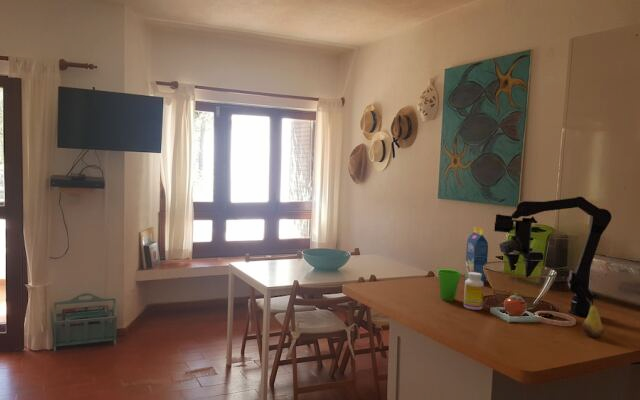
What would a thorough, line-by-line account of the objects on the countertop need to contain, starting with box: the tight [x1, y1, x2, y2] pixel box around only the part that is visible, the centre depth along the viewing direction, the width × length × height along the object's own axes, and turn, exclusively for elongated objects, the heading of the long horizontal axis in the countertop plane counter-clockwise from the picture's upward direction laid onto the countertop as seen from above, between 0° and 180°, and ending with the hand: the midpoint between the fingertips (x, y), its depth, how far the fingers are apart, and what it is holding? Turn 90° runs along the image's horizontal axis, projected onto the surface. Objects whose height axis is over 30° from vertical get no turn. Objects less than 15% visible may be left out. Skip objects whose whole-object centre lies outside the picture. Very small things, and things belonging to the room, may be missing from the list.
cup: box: [437, 268, 462, 302], centre depth 187 cm, size 9×9×11 cm
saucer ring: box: [533, 310, 577, 327], centre depth 166 cm, size 13×13×1 cm
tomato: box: [503, 292, 527, 317], centre depth 167 cm, size 7×7×8 cm
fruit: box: [582, 297, 604, 338], centre depth 150 cm, size 6×6×12 cm
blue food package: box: [464, 226, 489, 284], centre depth 224 cm, size 6×12×25 cm, turn 0°
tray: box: [489, 307, 540, 323], centre depth 167 cm, size 12×12×2 cm
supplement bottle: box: [463, 272, 485, 311], centre depth 176 cm, size 7×7×13 cm
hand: (519, 274), depth 182 cm, fingers open, 9 cm apart
